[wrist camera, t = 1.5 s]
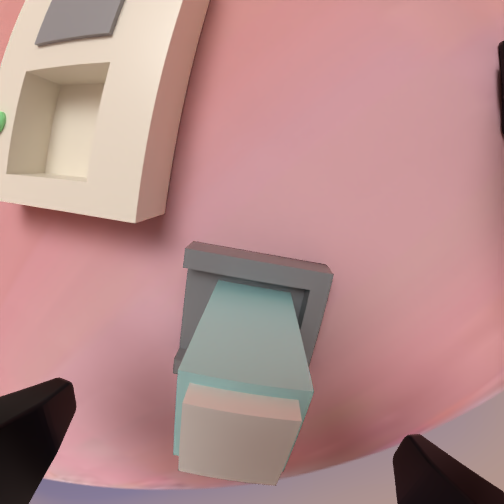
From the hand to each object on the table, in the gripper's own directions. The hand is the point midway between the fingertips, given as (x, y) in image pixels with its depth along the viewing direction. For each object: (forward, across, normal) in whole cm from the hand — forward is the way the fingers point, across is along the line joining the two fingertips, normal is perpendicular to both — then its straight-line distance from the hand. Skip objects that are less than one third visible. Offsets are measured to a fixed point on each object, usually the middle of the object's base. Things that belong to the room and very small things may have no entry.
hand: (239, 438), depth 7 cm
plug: (+8, 0, 0) cm, 8 cm away
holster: (+8, 0, 0) cm, 8 cm away
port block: (+8, +9, -10) cm, 16 cm away
